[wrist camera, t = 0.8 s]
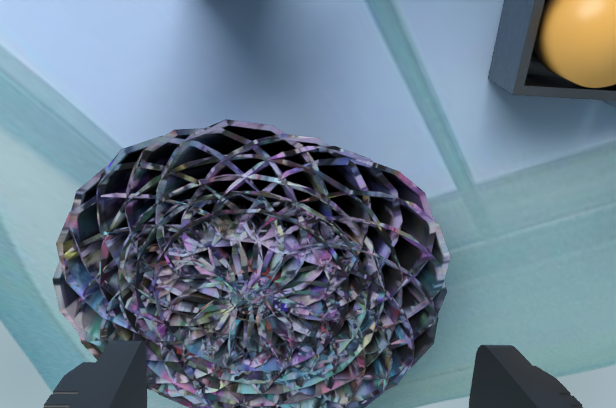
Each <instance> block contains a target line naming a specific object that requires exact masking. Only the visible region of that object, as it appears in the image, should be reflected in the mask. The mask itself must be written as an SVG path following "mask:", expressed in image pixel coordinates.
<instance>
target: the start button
mask: <svg viewBox="0 0 616 408" xmlns="http://www.w3.org/2000/svg"><path fill="white" fill-rule="evenodd" d="M534 48H535V52H536V55H537V57H538V59H539V61H540V62H541V63H542V65H543V66H544V67H545V68H546V69H547V70H549V71H550V72H552V73H554V74H556V75H558V76H560V77H563V78H565V79H567V80H569V81H571V82H573V83H576V84H578V85H581V86H584V87H590V88H601V87H607V86H611V85H614V84H616V0H548V1H547V2H546V3H545V5H544V6H543V10H542V14H541V18H540V22H539V26H538V31H537V35H536V39H535V43H534Z"/></svg>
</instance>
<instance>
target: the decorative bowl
mask: <svg viewBox="0 0 616 408" xmlns="http://www.w3.org/2000/svg"><path fill="white" fill-rule="evenodd" d="M249 135H251V136H258V137H265V138H261V139H256V140H254V141H251V140H248V139H246V138H244V137H245V136H249ZM240 144H241V145H243V146H242V147H240V148H238V146H239V145H240ZM304 146H305V147H304ZM237 148H238V149H237ZM278 152H281V153H279V154H277V155H275V156H273V157H270V155H271V154H274V153H278ZM312 157H316V158H317V160H316V161H314V160H313V158H312ZM56 245H57V250H58V255H59V259H60V262H59V264H58V267H57V269H56V272H55V275H54V277H53V283H54V288H55V292H56V296H57V301H58V305H59V310H60V312H61V313H62V314H63V315H64V317H65V318H66V319H67V320H68V321H69V322H70V323H71V325H72V326H73V327H74V328H75V329H76V330H77V331H78V334H79V337H80V340H81V343H82V344H83V345H84V346H85V347H86V348H87V349H88V350H89V351H90V352H91V353H92V354H93V356H94V357H95V358H96V359H97V360H98V359H99V357H100V356H101V354H102V352H103V351H104V349H105V347H106V346H107V344H108V343H109V341H111V340H116V341H144V342H145V346H146V372H147V389H150V390H153V391H156V392H157V393H158V394H159V395H161V396H164V397H166V398H168V399H171V400H173V401H175V402H178V403H180V404H182V405H184V406H187V407H189V408H365V407H366V406H367V405H368V404H370V403H371V402H372V401H373V400H375V399H376V398H377V397H378V396H380V395H381V394H382V393H383V392H384V391H385V390H387V389H389V388H391V387H393V386H395V385H397V384H398V383H399V381H400V380H401V378H402V377H403V376H404V374H405V373H406V371H407V370H408V369H409V368H411V367H412V366H413V365H414V364H415V363H416V362H417V361H418V360H419V359H420V358H421V357H422V355H423V354H424V353H425V352H426V351H427V350H428V349H429V348H430V347H431V346H432V345H433V344H434V338H435V333H436V327H437V322H438V316H437V315H438V312H439V310H440V307H441V305H442V302H443V300H444V297H445V295H446V293H447V290H446V286H445V282H444V279H445V276H446V272H447V268H448V265H449V261H450V254H449V251H448V249H447V246H446V243H445V240H444V237H443V234H442V231H441V228H440V226H439V224H438V223H437V222H435V221H434V219H433V216H432V213H431V210H430V207H429V204H428V201H427V198H426V195H425V192H423V191H422V190H421V189H420V188H419V187H417V186H416V185H415V184H414V183H413V182H411V181H410V180H409V179H408V178H406V177H405V176H404V175H403V174H402V173H400V172H399V171H396V170H394V169H391V168H388V167H385V166H383V165H380V164H377V163H374V162H372V161H371V159H369V158H366V157H364V156H361V155H358V154H355V153H353V152H350V151H347V150H344V149H342V148H339V147H336V146H329V145H328V144H326V143H325V142H323V141H322V140H320V139H319V138H312V137H303V136H295V135H286V134H285V133H283V132H282V131H280V130H279V129H277V128H276V127H274V126H272V125H264V124H256V123H249V122H241V121H233V120H224V121H221V122H219V123H216V124H214V125H211V126H209V127H206V128H201V129H181V130H173V131H172V132H170V133H169V134H167V135H166V136H160V137H157V138H154V139H151V140H148V141H145V142H142V143H139V144H136V145H133V146H130V147H127V148H124V149H121V150H120V152H119V153H118V154H117V155H116V157H115V158H114V159H113V161H112V162H111V163H110V164H109V166H107V167H105V168H104V169H102V170H101V171H100V172H99V173H98V174H96V175H95V176H94V177H93V178H92V179H91V180H89V181H88V182H87V183H86V184H85V185H83V186H82V187H81V188H80V189H79V190H77V191H76V195H75V199H74V203H73V206H72V210H71V212H69V215H68V217H67V219H66V222H65V224H64V227H63V229H62V231H61V234H60V236H59V238H58V241H57V243H56Z"/></svg>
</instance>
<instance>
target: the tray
mask: <svg viewBox="0 0 616 408" xmlns="http://www.w3.org/2000/svg"><path fill="white" fill-rule="evenodd" d="M605 102H606V103H608V104H610V105H612V106H614V107H616V101H612V100H605Z"/></svg>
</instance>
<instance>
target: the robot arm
mask: <svg viewBox="0 0 616 408" xmlns="http://www.w3.org/2000/svg"><path fill="white" fill-rule="evenodd" d="M44 408H147V372H146V346H145V342H144V341H116V340H111V341H109V343H108V344H107V346H106V347H105V349H104V351H103V352H102V354H101V356H100V357H99V359H98V360H97V362H96V363H92V362H83V363H82V364H80V365H79V366H77V367H76V368H75V369H73V370H72V371H70V372H69V373H67V374H66V375H65V376H64V377H63V378H62V380H61V381H60V383H59V384H58V385H57V387H56V388H55V390H54V391H53V395H51V396H50V397H49V398H48V400H47V402H46V403H45V404H44ZM469 408H582V404H581V403H580V402H579V401H578V400H577V399H576V398H575V397H574V396H571V395H570V392H569V391H568V390H567V389H566V388H565V387H564V386H563V385H562V384H561V383H560V382H559V381H558V380H557V379H556V378H554V377H553V376H551V375H550V374H548V373H546V372H545V371H543V370H541V369H540V368H538V367H536V366H532V365H531V364H530V363H529V362H528V360H527V359H526V358H525V357H524V356H523V355H522V354H521V353H520V352H519V351H518V350H517V349H516V348H515V347H514V346H511V345H481V346H480V347H479V348H478V350H477V353H476V359H475V366H474V372H473V379H472V385H471V392H470V399H469Z"/></svg>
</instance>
